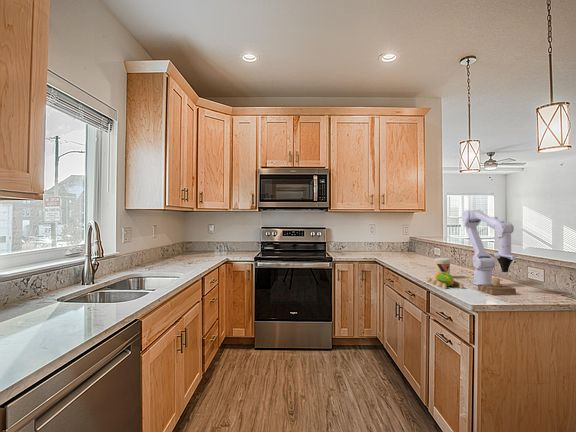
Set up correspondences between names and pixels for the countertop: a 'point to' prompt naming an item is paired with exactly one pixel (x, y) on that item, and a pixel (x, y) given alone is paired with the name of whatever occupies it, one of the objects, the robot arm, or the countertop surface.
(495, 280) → the peg
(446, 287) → the chock rails
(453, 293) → the countertop surface
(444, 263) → the coffee cup
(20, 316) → the countertop surface
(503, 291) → the walnut block
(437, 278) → the green orange papaya
